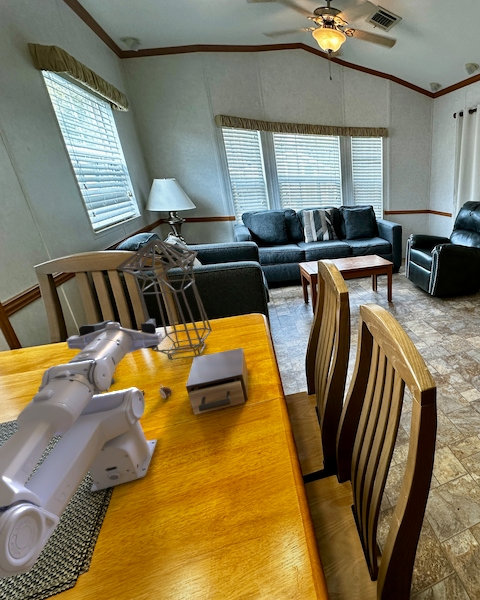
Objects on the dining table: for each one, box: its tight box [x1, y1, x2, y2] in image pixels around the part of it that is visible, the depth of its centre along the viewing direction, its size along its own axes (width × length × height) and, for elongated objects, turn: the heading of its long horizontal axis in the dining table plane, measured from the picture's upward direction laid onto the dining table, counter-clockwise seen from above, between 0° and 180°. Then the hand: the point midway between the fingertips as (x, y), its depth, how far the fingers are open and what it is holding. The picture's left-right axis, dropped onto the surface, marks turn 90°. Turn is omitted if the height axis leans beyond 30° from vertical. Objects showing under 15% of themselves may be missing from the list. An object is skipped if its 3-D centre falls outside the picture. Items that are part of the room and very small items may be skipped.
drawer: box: [188, 378, 245, 416], centre depth 78 cm, size 17×10×6 cm, turn 24°
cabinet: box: [185, 347, 249, 410], centre depth 82 cm, size 14×12×7 cm
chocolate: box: [158, 383, 173, 400], centre depth 80 cm, size 3×2×4 cm
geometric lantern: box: [115, 239, 212, 361], centre depth 95 cm, size 16×16×35 cm
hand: (132, 323), depth 72 cm, fingers open, 7 cm apart
